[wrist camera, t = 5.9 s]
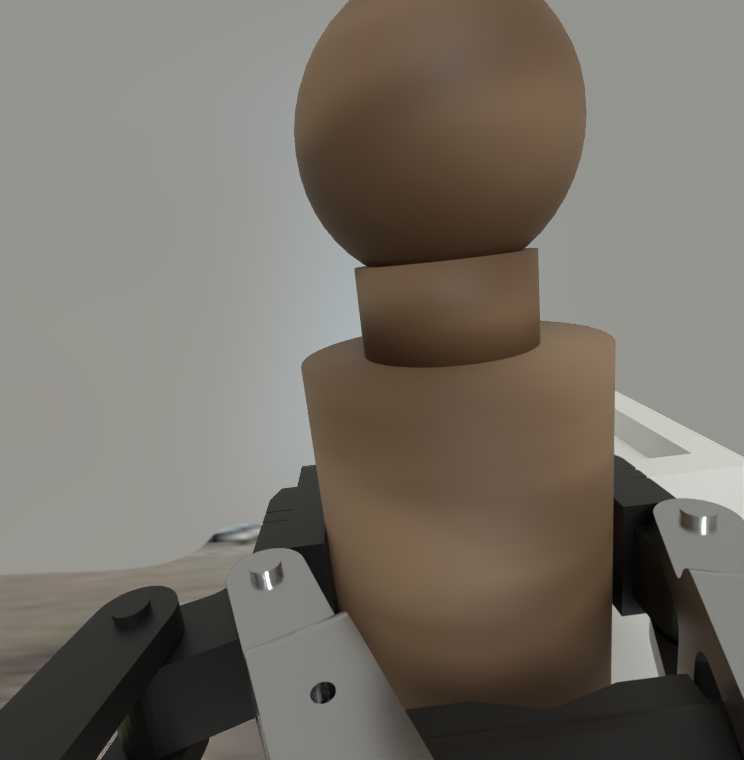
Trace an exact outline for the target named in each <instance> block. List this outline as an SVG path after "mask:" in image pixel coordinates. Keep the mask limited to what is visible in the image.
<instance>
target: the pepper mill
mask: <svg viewBox="0 0 744 760" xmlns="http://www.w3.org/2000/svg"><path fill="white" fill-rule="evenodd" d="M585 126H586V100H585V87H584V82H583V77H582V72H581V67H580V63H579V60H578V57H577V55H576V52H575V49H574V46H573V44H572V41H571V40H570V38H569V36H568V34H567V33H566V31H565V29H564V27H563V25H562V23H561V22H560V20H559V19H558V18H557V16H556V15H555V14H554V12H553V11H552V10H551V8H550V7H549V6H548V5H547V3H546V2H545V1H544V0H350V1H349V2H348V3H347V4H346V5H345V6H344V7H343V8H342V9H341V10H340V12H339V13H338V14H337V15H336V16H335V17H334V18H333V20H332V21H331V22H330V23H329V25H328V27H327V28H326V29H325V31H324V33H323V34H322V36H321V37H320V39H319V41H318V42H317V44H316V46H315V48H314V50H313V52H312V54H311V56H310V59H309V61H308V63H307V65H306V68H305V72H304V75H303V78H302V82H301V85H300V88H299V92H298V98H297V105H296V110H295V126H294V137H295V149H296V157H297V162H298V167H299V172H300V177H301V180H302V183H303V186H304V189H305V192H306V195H307V197H308V199H309V201H310V203H311V206H312V207H313V210H314V212H315V214H316V215H317V217H318V218H319V220H320V221H321V223H322V225H323V226H324V228H325V229H326V230H327V231H328V233H329V234H330V235H331V236H332V237H333V239H334V240H335V241H336V242H337V243H338V244H339V245H340V246H341V247H342V248H343V249H344V250H346V251H347V252H348V253H349V254H350V255H351V256H353V257H354V258H356V259H357V260H358V261H360V262H361V263H363V264H364V265H366V266H364V267H358V268H355V278H356V286H357V295H358V304H359V312H360V320H361V329H362V337H358V338H354V339H350V340H347V341H343V342H340V343H337V344H334V345H331V346H328V347H326V348H323V349H321V350H319V351H317V352H315V353H313V354H311V355H310V356H309V357H307V358H306V359H305V360H304V362H303V363H302V366H301V369H302V375H303V382H304V388H305V395H306V402H307V409H308V415H309V422H310V428H311V435H312V442H313V448H314V455H315V461H316V468H317V475H318V481H319V488H320V495H321V501H322V508H323V514H324V521H325V525H326V531H327V538H328V544H329V551H330V558H331V564H332V571H333V577H334V584H335V591H336V597H337V604H338V610H339V613H340V612H342V611H345V612H346V613H347V614H348V615H349V616H350V618H351V619H352V621H353V623H354V624H355V626H356V628H357V629H358V631H359V633H360V635H361V636H362V638H363V640H364V641H365V643H366V645H367V646H368V648H369V650H370V652H371V653H372V655H373V657H374V658H375V660H376V662H377V663H378V665H379V667H380V669H381V670H382V672H383V674H384V675H385V677H386V679H387V680H388V682H389V684H390V686H391V687H392V689H393V691H394V692H395V694H396V696H397V697H398V699H399V701H400V703H401V704H402V706H403V708H404V709H413V708H421V707H428V706H436V705H444V704H452V703H459V702H467V701H476V702H486V703H496V704H506V705H515V706H525V707H535V708H555V707H558V706H561V705H563V704H566V703H568V702H571V701H573V700H575V699H578V698H580V697H583V696H585V695H587V694H590V693H592V692H595V691H597V690H599V689H602V688H604V687H607V686H609V685H611V660H612V581H613V501H614V422H615V340H614V338H613V337H612V336H611V335H609V334H608V333H606V332H604V331H601V330H598V329H595V328H591V327H587V326H582V325H576V324H570V323H561V322H549V321H540V312H539V310H540V309H539V270H538V248H525V247H526V246H528V244H529V243H531V241H532V240H534V239H535V238H536V237H537V236H538V235H539V234H540V233H541V232H542V230H543V229H544V228H545V227H546V225H547V224H548V222H549V221H550V220H551V219H552V218H553V216H554V215H555V213H556V212H557V210H558V208H559V207H560V205H561V203H562V202H563V200H564V199H565V197H566V195H567V192H568V190H569V188H570V186H571V184H572V181H573V179H574V177H575V173H576V170H577V167H578V164H579V161H580V158H581V154H582V148H583V143H584V138H585V128H586V127H585Z"/></svg>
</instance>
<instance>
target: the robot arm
mask: <svg viewBox="0 0 744 760" xmlns="http://www.w3.org/2000/svg"><path fill="white" fill-rule="evenodd" d="M226 586H227V588H226V589H224V590H222V591H220V592H218V593H216V594H213V595H211V596H208V597H205V598H202V599H199V600H196V601H193V602H190V603H187V604H184V605H181V606H180V605H179V601H178V597H177V595H176V593H175V592H174V591H173V590H172V589H170V588H167V587H164V586H149V587H143V588H139V589H136V590H133V591H130V592H127V593H125V594H123V595H121V596H119V597H117V598H115V599H113V600H112V601H110V602H109V603H107V604H106V605H104V606H103V607H102V608H101V609H100V610H98V611H97V612H96V613H95V614H94V615H93V616H92V617H91V618H90V619H89V620H88V621H87V622H86V623H85V624H84V625H83V626H82V628H81V629H80V630H79V631H78V632H77V633H76V634H75V635H74V636H73V637H72V638H71V639H70V640H69V641H68V642H67V643H66V644H65V645H64V646H63V647H62V648H61V649H60V650H59V651H58V652H57V653H56V654H55V655H54V656H53V657H52V658H51V659H50V660H49V661H48V662H47V663H46V664H45V665H44V666H43V667H42V668H41V669H40V670H39V671H38V672H37V673H36V674H35V675H34V676H33V677H32V678H31V679H30V680H29V682H28V683H27V684H26V685H25V686H24V687H23V688H22V689H21V690H20V691H19V692H18V693H17V694H16V695H15V696H14V697H13V698H12V699H11V700H10V701H9V702H8V703H7V704H6V705H5V706H4V707H3V708H2V709H1V710H0V760H96V759H97V757H98V756H99V754H100V753H101V751H102V750H103V748H104V747H105V746H106V744H107V743H108V741H109V740H110V738H111V737H112V736H113V734H114V733H115V731H116V730H117V732H118V736H117V737H116V738H115V740H114V741H113V743H112V744H111V746H110V747H109V749H108V750H107V751H106V753H105V754H104V756H103V757H102V759H101V760H201V758H202V756H203V754H204V752H205V750H206V747H207V745H208V742H209V738H210V737H211V736H214V735H216V734H218V733H221V732H223V731H225V730H228V729H230V728H232V727H235V726H237V725H239V724H241V723H244V722H246V721H248V720H251V719H253V718H255V719H256V723H257V727H258V732H259V736H260V740H261V744H262V748H263V753H264V757H265V760H744V520H743V519H742V517H741V516H739V515H738V514H737V513H735V512H734V511H732V510H730V509H728V508H726V507H724V506H721V505H719V504H716V503H712V502H708V501H704V500H698V499H689V498H675V497H674V496H673V495H671V494H670V493H669V492H667V491H666V490H665V489H663V488H662V487H661V486H659V485H658V484H657V483H655V482H654V481H653V480H651V479H650V478H647V476H646V475H645V474H643V473H642V472H641V471H639V470H636V468H635V467H634V466H633V465H631V464H630V463H629V462H627V461H626V460H625V459H623V458H622V457H620V456H617V455H614V501H613V581H612V604H613V605H614V607H615V608H616V609H617V611H618V612H619V613H620V615H621V616H630V615H638V614H647V615H648V616H649V617H650V619H649V640H650V644H651V648H652V652H653V656H654V660H655V664H656V668H657V672H658V676H659V677H654V678H646V679H638V680H630V681H623V682H616V683H614V684H611V685H609V686H607V687H604V688H602V689H599V690H597V691H595V692H592V693H590V694H587V695H585V696H583V697H580V698H578V699H575V700H573V701H571V702H568V703H566V704H563V705H561V706H558V707H555V708H535V707H525V706H515V705H506V704H496V703H486V702H476V701H467V702H459V703H452V704H444V705H436V706H428V707H421V708H413V709H404V708H403V706H402V704H401V703H400V701H399V699H398V697H397V696H396V694H395V692H394V691H393V689H392V687H391V686H390V684H389V682H388V680H387V679H386V677H385V675H384V674H383V672H382V670H381V669H380V667H379V665H378V663H377V662H376V660H375V658H374V657H373V655H372V653H371V652H370V650H369V648H368V646H367V645H366V643H365V641H364V640H363V638H362V636H361V635H360V633H359V631H358V629H357V628H356V626H355V624H354V623H353V621H352V619H351V618H350V616H349V615H348V614H347V613H346V612H345V611H342V612H340V613H339V610H338V604H337V597H336V591H335V584H334V577H333V571H332V564H331V558H330V551H329V544H328V538H327V531H326V525H325V521H324V514H323V508H322V501H321V495H320V488H319V481H318V475H317V468H316V465H310V466H303V467H302V469H301V473H300V478H299V482H298V486H297V487H293V488H284V489H281V490H280V491H279V492H278V493H277V494H276V495H275V496H274V497H273V498H272V499H271V500H270V502H269V505H268V508H267V511H266V515H265V518H264V521H263V525H262V527H261V530H260V533H259V536H258V539H257V542H256V545H255V548H254V551H253V554H251V555H249V556H247V557H245V558H244V559H242V560H241V561H239V562H238V563H237V564H236V565H235V566H234V567H233V568H232V569H231V570H230V572H229V573H228V575H227V579H226Z"/></svg>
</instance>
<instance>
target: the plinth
mask: <svg viewBox="0 0 744 760" xmlns="http://www.w3.org/2000/svg"><path fill="white" fill-rule="evenodd" d="M614 455H617V456H620V457H622V458H623V459H625V460H626V461H627V462H629V463H630V464H631V465H633V466H634V467H635V468H636V470H639V471H641V472H642V473H643V474H645V475H646V476H647V478H650V479H651V480H653V481H654V482H655V483H657V484H658V485H659V486H661V487H662V488H663V489H665V490H666V491H667V492H669V493H670V494H671V495H673V496H674V497H675V498H689V499H698V500H704V501H708V502H712V503H716V504H719V505H721V506H724V507H726V508H728V509H730V510H732V511H734V512H735V513H737V514H738V515H739V516H741V517H742V519H743V520H744V457H742V456H740V455H738V454H736V453H734V452H733V451H731V450H729V449H727V448H725V447H723V446H721V445H719V444H717V443H715V442H713V441H711V440H709V439H707V438H705V437H704V436H702V435H699V434H698V433H696V432H694V431H692V430H690V429H688V428H686V427H684V426H682V425H680V424H678V423H676V422H675V421H673V420H671V419H669V418H667V417H665V416H663V415H661V414H659V413H657V412H655V411H653V410H651V409H649V408H647V407H646V406H643V405H642V404H640V403H638V402H636V401H634V400H632V399H630V398H628V397H626V396H624V395H622V394H620V393H618V392H617V391H615V422H614ZM649 619H650V617H649V616H648V615H647V614H638V615H630V616H621V615H620V613H619V612H618V611H617V609H616V608H615V607H614V605H613V604H612V660H611V684H614V683H616V682H623V681H630V680H638V679H646V678H654V677H659V676H658V672H657V668H656V664H655V660H654V656H653V652H652V648H651V644H650V640H649Z"/></svg>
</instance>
